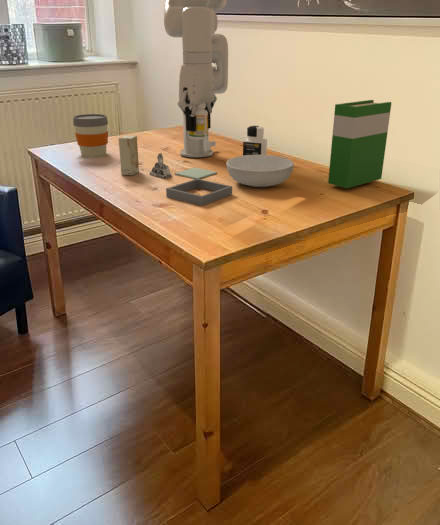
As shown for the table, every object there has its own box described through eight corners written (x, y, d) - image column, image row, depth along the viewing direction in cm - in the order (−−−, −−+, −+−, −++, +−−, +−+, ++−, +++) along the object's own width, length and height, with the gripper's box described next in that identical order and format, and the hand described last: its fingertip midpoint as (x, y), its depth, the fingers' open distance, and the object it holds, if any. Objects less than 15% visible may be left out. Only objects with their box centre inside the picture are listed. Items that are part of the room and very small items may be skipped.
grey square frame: (197, 186, 159) (197, 178, 158) (232, 194, 151) (232, 186, 150) (166, 196, 149) (166, 188, 148) (202, 205, 141) (202, 197, 140)
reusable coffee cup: (116, 157, 194) (112, 117, 188) (84, 162, 188) (79, 120, 181) (103, 152, 203) (99, 113, 197) (72, 156, 197) (67, 115, 191)
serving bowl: (216, 178, 167) (215, 157, 164) (272, 172, 175) (273, 152, 172) (243, 196, 150) (244, 173, 147) (305, 188, 157) (306, 166, 154)
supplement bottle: (199, 140, 140) (198, 104, 136) (184, 138, 143) (184, 102, 139) (212, 137, 144) (212, 102, 140) (197, 135, 147) (197, 100, 143)
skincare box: (133, 176, 170) (130, 138, 165) (120, 175, 171) (117, 138, 166) (139, 171, 176) (137, 135, 171) (127, 170, 177) (125, 134, 172)
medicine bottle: (242, 160, 191) (243, 127, 186) (248, 156, 197) (249, 124, 192) (260, 161, 189) (261, 128, 184) (266, 157, 195) (267, 125, 190)
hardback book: (362, 174, 172) (371, 99, 163) (381, 178, 167) (391, 102, 157) (328, 183, 162) (335, 104, 152) (346, 188, 157) (355, 107, 147)
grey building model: (186, 175, 172) (185, 152, 168) (166, 180, 166) (165, 157, 163) (169, 171, 177) (168, 148, 174) (149, 175, 172) (147, 152, 169)
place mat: (194, 168, 179) (194, 167, 179) (216, 173, 173) (216, 172, 173) (174, 174, 172) (174, 173, 171) (197, 179, 166) (197, 178, 166)
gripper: (206, 57, 143) (207, 123, 151) (164, 60, 131) (167, 132, 138) (228, 58, 139) (227, 126, 146) (186, 61, 126) (188, 135, 134)
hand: (198, 128), depth 142 cm, fingers closed on supplement bottle, 5 cm apart
